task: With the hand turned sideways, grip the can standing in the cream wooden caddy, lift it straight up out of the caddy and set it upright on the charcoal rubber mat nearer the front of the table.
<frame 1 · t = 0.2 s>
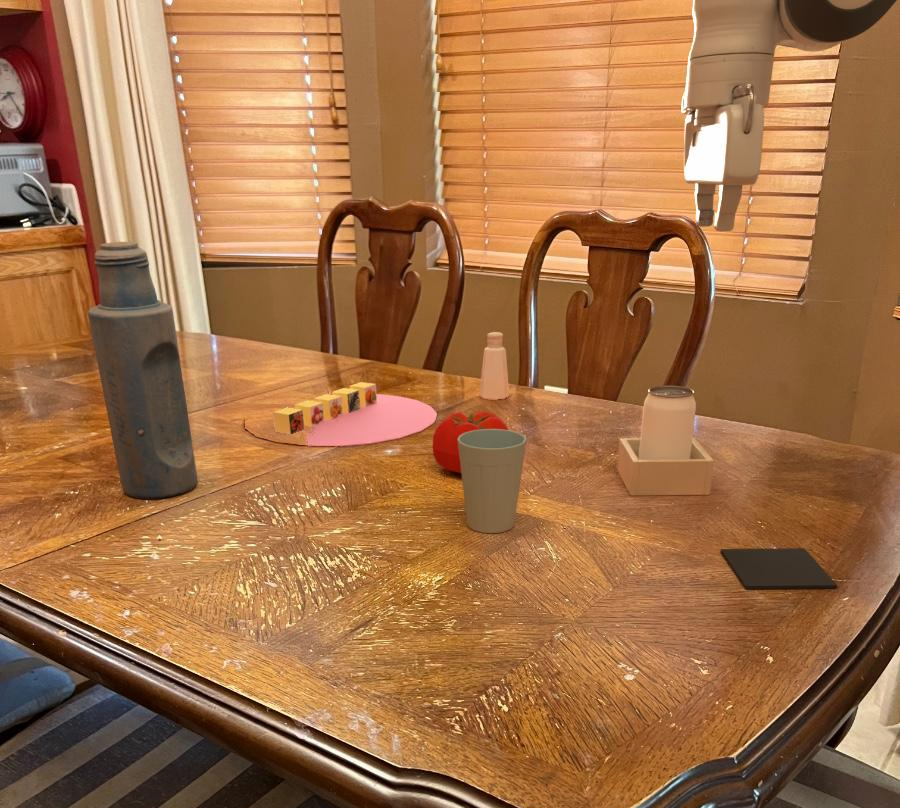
hand: (713, 228, 99), 31 cm above the table, tool pointing down, fingers open, 8 cm apart
caddy: (661, 482, 113), on the table
cup: (490, 526, 101), on the table
tomato: (470, 470, 119), on the table
mat: (775, 569, 89), on the table
salt shaker: (494, 397, 154), on the table
can: (661, 483, 113), resting in caddy
bottle: (161, 489, 114), on the table
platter: (341, 419, 143), on the table
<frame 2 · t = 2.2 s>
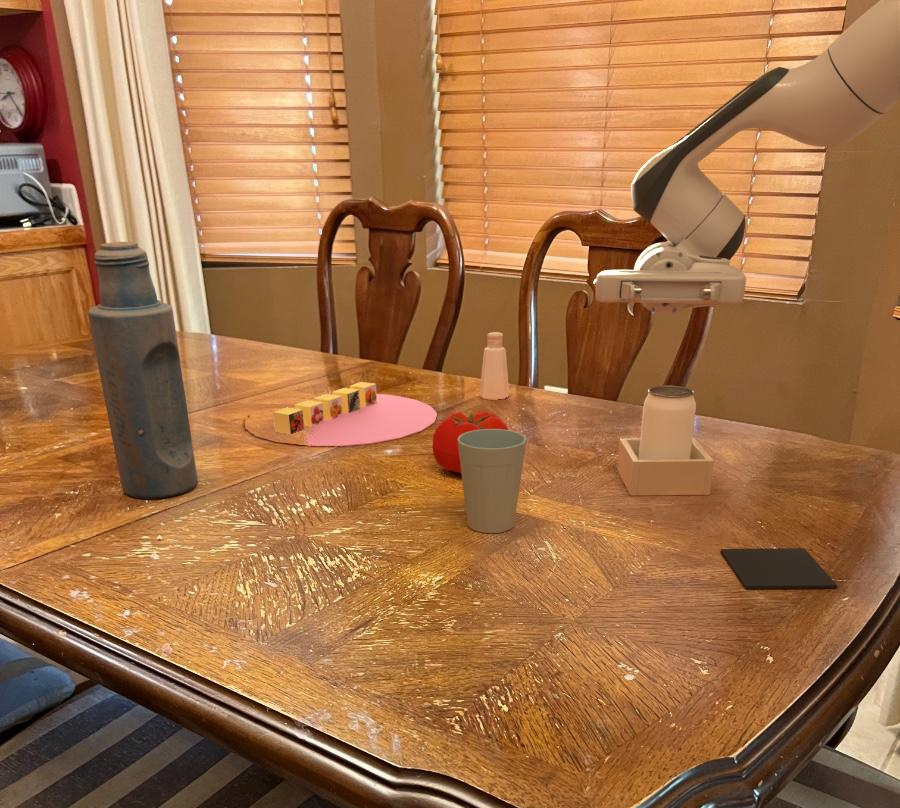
hand: (672, 295, 114), 22 cm above the table, tool horizontal, fingers open, 8 cm apart
nothing on the table moved.
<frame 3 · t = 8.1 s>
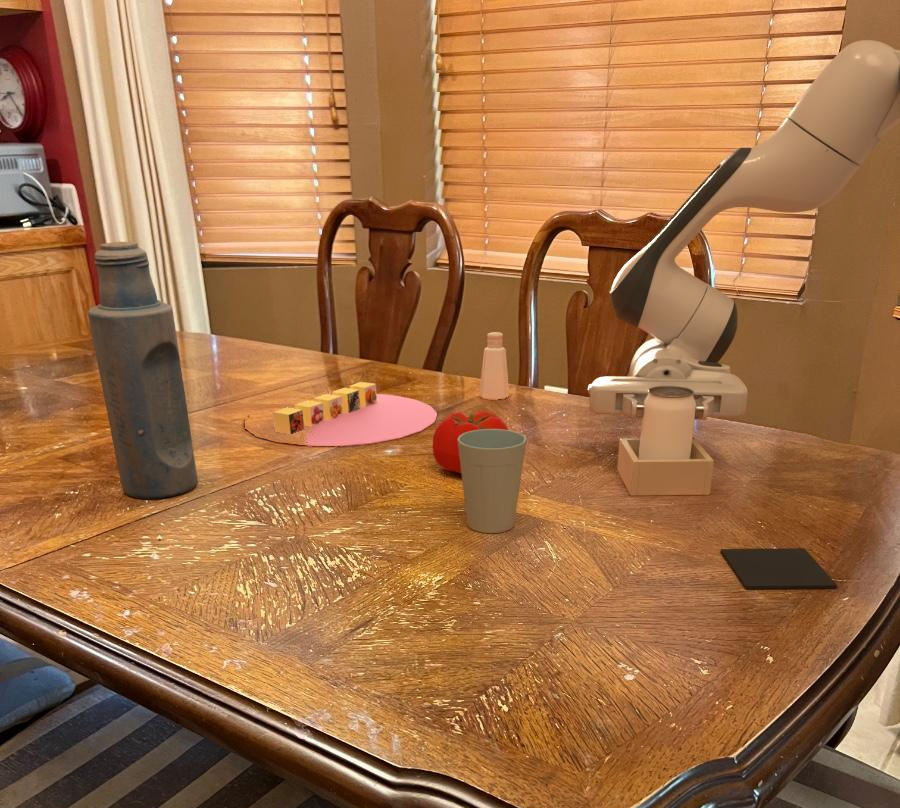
hand: (669, 412, 108), 10 cm above the table, tool horizontal, fingers closed on can, 6 cm apart
can: (661, 483, 113), resting in caddy, touching gripper
everything else where it was.
when the fingers open (10 cm above the table, at t = 18.0 s): can stays where it is, resting on mat.
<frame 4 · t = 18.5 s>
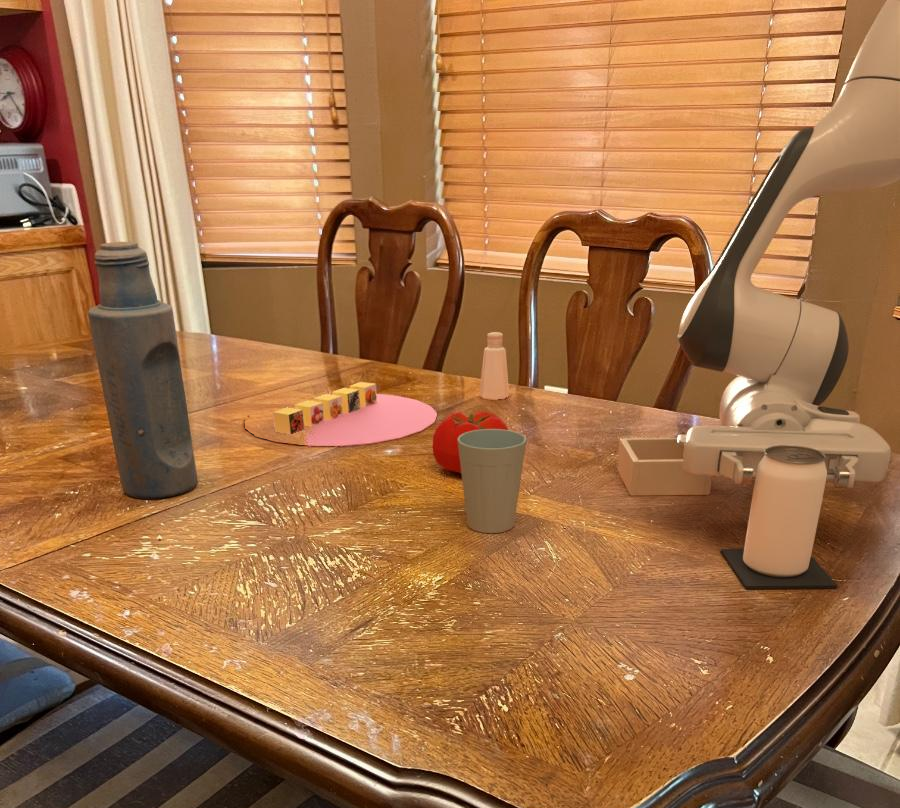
hand: (795, 478, 83), 10 cm above the table, tool horizontal, fingers open, 8 cm apart
can: (774, 567, 89), resting on mat
everything else where it was.
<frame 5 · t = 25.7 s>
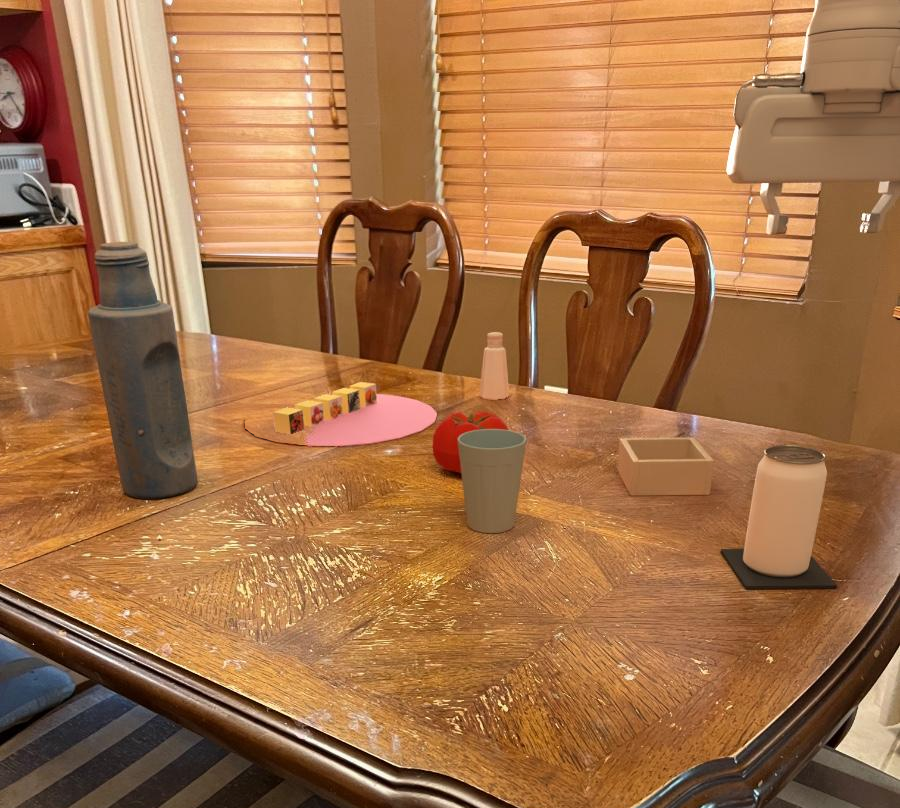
hand: (823, 233, 86), 31 cm above the table, tool pointing down, fingers open, 8 cm apart
nothing on the table moved.
at the end: can inside the target area on the mat (0.2 cm from its centre), point 0.2 cm above the mat's base; can tilted 0°; the gripper is holding nothing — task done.
